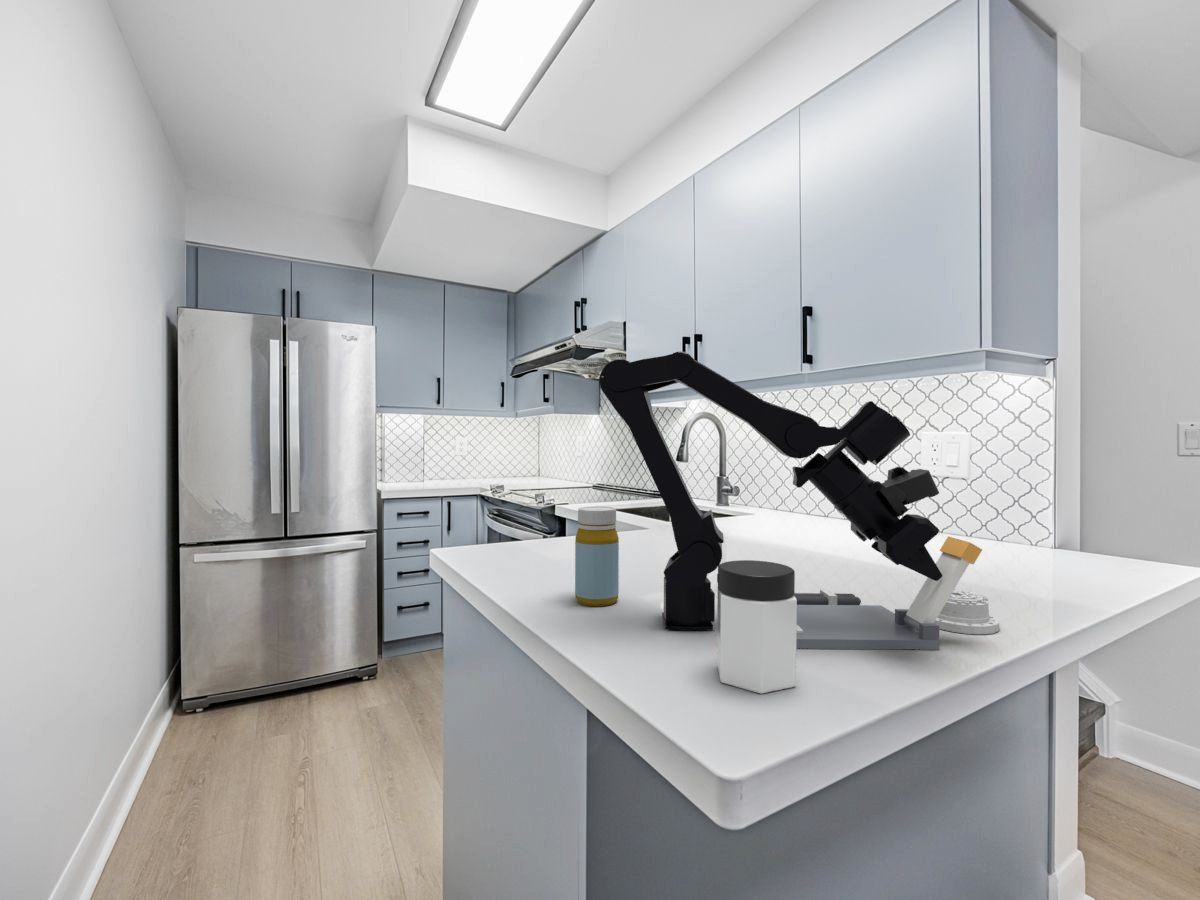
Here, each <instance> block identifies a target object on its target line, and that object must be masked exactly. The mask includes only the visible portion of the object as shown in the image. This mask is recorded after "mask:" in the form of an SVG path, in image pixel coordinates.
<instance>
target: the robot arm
mask: <svg viewBox="0 0 1200 900" xmlns="http://www.w3.org/2000/svg"><path fill="white" fill-rule="evenodd" d="M598 384H599V388H600V389H601V391H602V393H603V394H604V396H605V397H606V398H607V400H608V401H609V403H610V404H611V406H612V407H613V408H614V410H615V411H616V412H617V414H618V415H619V416H620V417H621V419H622V420H623V421H624V422H625V424H626V425H627V426H628V428H629V430H630V432H631V434H632V437H633V440H634V441H635V443H636V446H637V447H638V450H639V451H640V454H641V456H642V458H643V460H644V462H645V465H646V466H647V469H648V472H649V473H650V475H651V477H652V480H653V481H654V484H655V486H656V489H657V490H658V492H659V495H660V497H661V499H662V501H663V503H664V506H665V508H666V510H667V512H668V514H669V518H670V522H671V523H670V524H671V527H672V531H673V532H672V533H673V536H674V541H675V545H676V548H677V551H676V552H675V553H673V555H671V557H669V558H668V560H667V563H666V565H665V568H664V570H663V575H664V577H663V612H661V617H662V621H663V624H664V627H665V629H666V630H675V631H676V630H683V631H684V630H687V631H691V630H692V631H695V630H696V631H697V630H698V631H699V630H700V631H701V630H702V631H707V630H708V631H712V630H714V624H713V623H714V622H715V618H716V615H715V614H716V613H715V612H716V608H715V603H716V601H715V597H716V596H715V595H716V594H715V592H714V590H713V589H712V587H711V585H712V582H711V580H710V579H709V578H708V575H709V574H711V573H713V572H714V571H716V570H717V569H718V566H719V565H720V564H721V561H722V560H723V543H725V540H724V533H723V532H722V531H721V530H720V529H719V528H718V526H717V524H716V521H715V517H714V513H713V511H712V509H709V510H708V511H706V512H705V513H704V514H703V511H701V509H700V508H699V507H698V506H697V505H696V503H695V502H694V499H693V497H692V495H691V493H690V490H689V489H688V486H687V485H686V482H685V480H684V478H683V476H682V474H681V472H680V470H679V468H678V466H677V463H676V461H675V460H674V459H675V458H674V457H673V455H672V452H671V450H670V448H669V445H668V444H667V441H666V439H665V438H664V435H663V434H662V431H661V429H660V427H659V425H658V423H657V421H656V419H655V416H654V415H655V414H654V410H653V406H652V402H651V397H650V393H649V392H652V391H655V390H659V389H662V388H665V387H668V386H671V385H675V384H682V385H683V386H685V387H686V388H687V389H690V390H692V391H694V392H695V393H696V394H698V395H699V396H701V397H703V398H705V399H706V400H708V401H709V402H711V403H713V404H714V405H717V406H718V407H720V408H721V409H723V410H724V411H726V412H728V413H730V414H731V415H733V416H735V417H736V418H738V419H739V420H741V421H743V422H744V423H745V424H747V425H748V426H750V427H751V428H752V429H753V430H754V431H755V432H756V433H757V434H758V435H759V436H760V437H761V438H763V440H765V441H766V442H767V443H768V444H769V445H771V447H773V449H775V450H776V452H777V451H778V452H779V454H781V455H783V456H785V457H788V458H792V459H799V460H801V459H805V458H808V457H810V456H813V457H812V458H810V459H809V460H808V461H807V462H806V463H804V465H803V466H795V465H794V466H792V469H791V470H792V472H793V479H792V484H793V485H794V487H797V488H802V487H803V486H804V485H805V484H806V483H808V482H810V483H811V484H812V485H813V486H814V487H815V488H816V489H817V490H818V491H819V492H820V493H821V495H823V496H824V497H825V498H827V500H828V501H829V502H830V503H831V504H832V505H833V508H834V509H836V510H837V512H839V513H840V514H841V515H843V516H844V517H845V518H846V519H847V520H848V521H849V522H850V531H851V532H852V533H854V535H855V536H856V537H857V538H858V539H860V540H861V541H862V542H864V543H865V542H866V541H867V540H869V541H872V540H873V541H874V542H873V543H872V544H871V548H872V549H873V550H875V551H877V553H878V552H879V553H881V554H882V556H883V557H885V558H886V559H887V560H889V561H891V562H893V563H894V564H895V565H896V566H899V565H900V566H902V567H905V568H907V569H909V570H912V571H914V572H916V573H918V574H920V575H921V576H922V575H923V576H924V577H926V578H930V579H932V580H935V581H938V580H939V579H940V578H941V577H942V574H941V572H940V570H939V569H938V567H937V565H936V563H935V560H934V559H933V557H932V556H931V554H930V552H929V550H928V549H927V547H926V544H927V543H929V542H930V541H931V540H932V539H933V538H935V537H936V536H937V535H938V534H939V532H940V529H939V528H938V527H937V526H936V525H935V524H934V523H932V521H931V520H930V519H929V518H928V517H925V516H921V515H919V514H914V513H913V514H909V513H907V512H908V511H909V510H910V509H909V508H908V507H907V506H906V505H910V504H912V503H916V502H918V501H920V500H923V499H926V498H933V497H936V496H938V495H939V494H940V491H939V488H938V487H937V485H936V482H935V479H934V478H933V476H932V474H931V472H930V470H928V469H923V468H918V469H911V470H910V471H908V470H907V469H906V468H904V467H903V466H902V467H901V466H895V467H893V468H891V469H889V470H887V479H886V480H884V482H882V483H881V482H880V481H876V480H873V479H871V478H870V477H869V476H868V475H866V474H865V472H863V471H862V470H861V469H860V467H858V466H857V464H855V463H854V462H853V461H852V460H851V458H849V457H848V456H847V454H845V453H844V452H843V450H845V451H846V453H848V455H849V456H851V457H852V459H854V460H855V461H856V462H857V463H859V464H861V466H865V465H867V463H868V462H869V463H870V464H872V465H874V466H877V465H878V464H879V463H881V462H882V461H883V460H884V459H885V458H886V457H887V456H889V455H890V454H891V453H892V452H893V451H894V450H895V449H897V448H898V447H899V445H902V443H903V442H904V441H906V440H907V439H908V438H909V437H910V436H911V433H910V431H909V429H908V428H907V427H906V426H905V424H904V423H903V422H902V421H901V420H900V418H898V417H897V416H896V415H892V414H890V413H889V412H888V411H887V410H886V409H883V408H882V407H880V406H878V405H877V404H876V403H875V402H874V401H867V402H865V403H864V404H863V405H861V407H859V409H858V410H857V412H856V413H855V414H853V416H852V417H850V418H849V419H848V420H847V421H846V422H845V423H844V424H842V425H841V426H840V427H839V428H838V427H837V425H836V426H829V427H828V426H821V425H819V423H818V422H817V421H816V420H815V419H813V418H812V417H810V416H808V415H806V414H802V413H799V412H797V411H795V410H793V409H789V408H786V407H783V406H780V405H777V404H774V403H771V402H768V401H766V400H763V399H761V398H760V397H758V396H756V395H754V394H753V393H751V391H748V390H746V389H745V388H743V387H741V386H739V384H737V383H735V382H733V381H731V380H730V379H728V378H726V377H724V376H723V375H721V374H720V373H717V372H716V371H714V370H713V369H711V368H709V366H706V365H705V364H703V363H702V362H699V361H698V360H696V359H694V357H693V356H691V355H690V354H689V353H688V352H685V351H676V352H673V353H670V354H666V355H662V356H656V357H655V356H654V357H649V358H648V357H647V358H643V359H639V360H634V361H629V360H626V359H623V358H622V359H620V358H618V359H615V360H611V361H609V362H607V363H606V364H605V365H604V367H603V368H602V370H601V372H600V375H599V378H598ZM829 446H834V447H833V448H832V449H831V450H829V451H828V452H827V453H826V454H825V455H823V454H821V453H819V452H817V453H816V451H818V450H819V449H820V448H824V447H829ZM815 453H816V454H815ZM813 454H815V455H813ZM905 513H907V514H905ZM904 514H905V515H904ZM899 517H901V518H899Z"/></svg>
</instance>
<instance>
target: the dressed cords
mask: <svg viewBox="0 0 1200 900" xmlns="http://www.w3.org/2000/svg"><path fill="white" fill-rule="evenodd" d="M794 596H795V598H796V599H797V605H862V604H861V603H862V601H861V598H859V597H858V596H856V595H855V594H854V593H834V592H832V591H831V590H830V589H827V588H825V589H823V588H822V589H821V588H820V589H819V593H815V592H813V593H809V592H808V593H807V592H806V593H805V592H804V593H802V592H796V593H795V594H794Z"/></svg>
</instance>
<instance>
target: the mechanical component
mask: <svg viewBox="0 0 1200 900" xmlns="http://www.w3.org/2000/svg"><path fill="white" fill-rule="evenodd" d="M934 623H935V624H937V625H939V630H942V631H947V632H953V633H960V634H965V635H966V634H967V635H968V634H969V635H989V634H991V635H992V634H995V633H998V631H999V630H1000V620H999V619H998V618H997V617H996V616H994V615H991V614H990V610H989V598H987V596H983V595H982V594H977V593H974V592H971V591H968V590H967V591H966V590H960V589H956V588H955V589H954V590H953V592H952V594H951V595H950V597H949V599H948V600H947V602H946V604H945V605H944V607H943V609H942V610H941V612H940V614H939V615H938V617H937V619H936V620H935V622H934Z"/></svg>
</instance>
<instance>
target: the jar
mask: <svg viewBox="0 0 1200 900" xmlns="http://www.w3.org/2000/svg"><path fill="white" fill-rule="evenodd" d="M795 576H796V572H795V570H794V568H792V567H790V566H789V565H785V564H782V563H778V562H772V561H764V560H750V559H749V560H748V559H746V560H745V559H743V560H731V561H730V560H729V561H725V562H722V563H720V565H719V566H718V567H717V574H716V581H717V610H716V611H717V617H716V618H717V624H716V625H717V628H716V630H717V635H716V636H717V637H716V640H717V641H716V649H717V650H716V666H717V671H718V676H719V681H720V682H721V683H722V684H725V685H729V686H732V687H736V688H740V689H742V690H743V689H744V690H746V691H750V692H753V693H754V692H755V693H757V694H766V693H770V692H776V691H780V690H786V689H791V688H795V687H796V686H797V649H796V637H797V599H796V598H795V596H794V594H795V590H796V589H795V584H796V583H795V582H796V581H795V579H796V577H795Z"/></svg>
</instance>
